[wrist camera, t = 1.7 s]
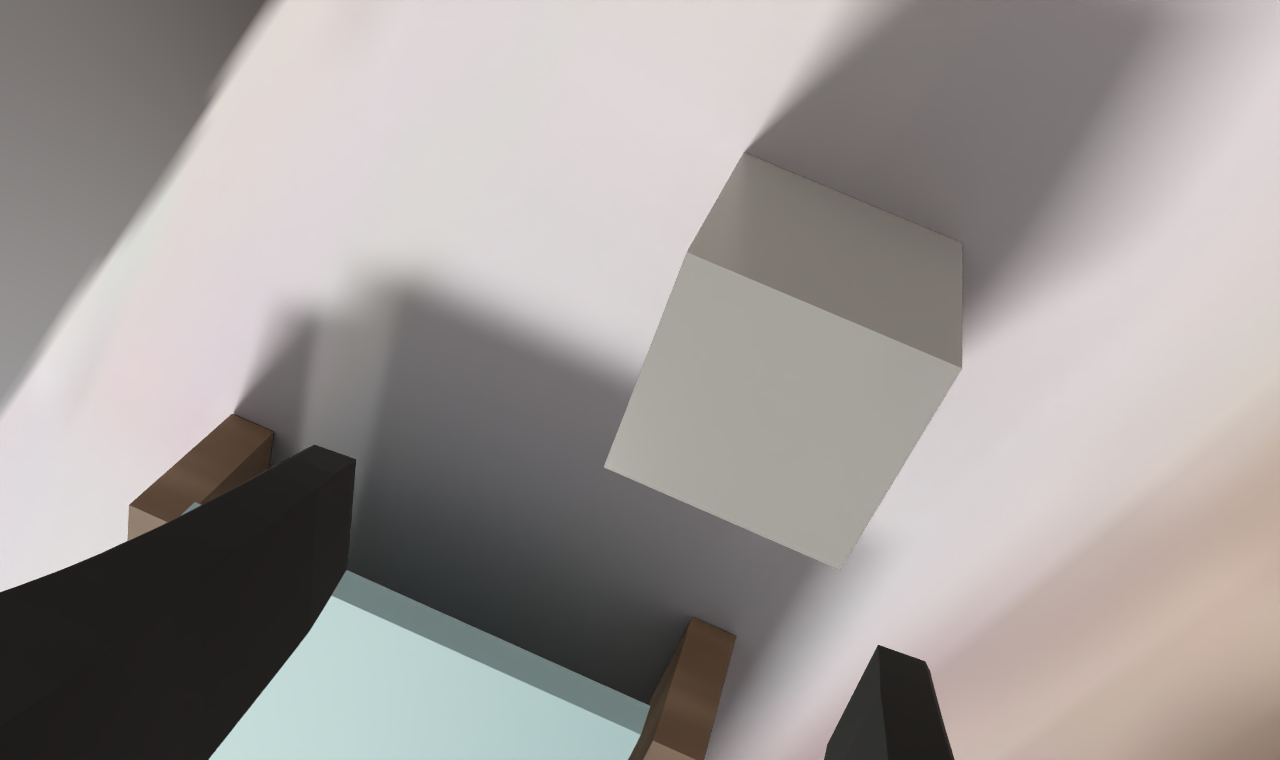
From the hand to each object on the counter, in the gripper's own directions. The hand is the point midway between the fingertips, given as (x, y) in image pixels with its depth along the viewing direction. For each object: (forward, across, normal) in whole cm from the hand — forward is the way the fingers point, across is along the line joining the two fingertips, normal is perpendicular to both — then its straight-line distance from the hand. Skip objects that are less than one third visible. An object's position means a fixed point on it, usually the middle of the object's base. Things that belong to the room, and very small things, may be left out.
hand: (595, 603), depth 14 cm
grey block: (+7, -2, -1) cm, 7 cm away
